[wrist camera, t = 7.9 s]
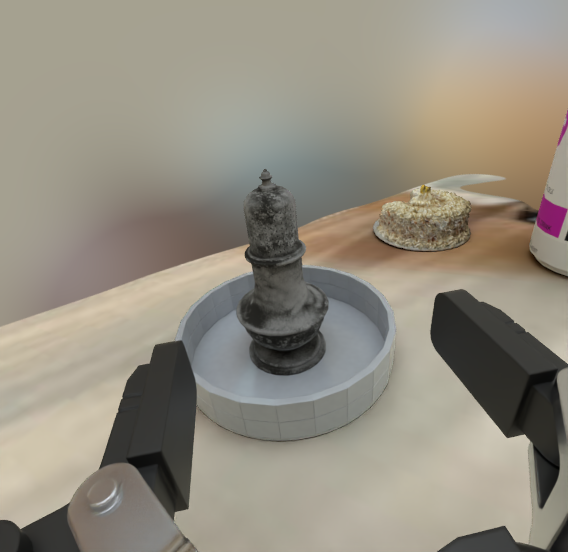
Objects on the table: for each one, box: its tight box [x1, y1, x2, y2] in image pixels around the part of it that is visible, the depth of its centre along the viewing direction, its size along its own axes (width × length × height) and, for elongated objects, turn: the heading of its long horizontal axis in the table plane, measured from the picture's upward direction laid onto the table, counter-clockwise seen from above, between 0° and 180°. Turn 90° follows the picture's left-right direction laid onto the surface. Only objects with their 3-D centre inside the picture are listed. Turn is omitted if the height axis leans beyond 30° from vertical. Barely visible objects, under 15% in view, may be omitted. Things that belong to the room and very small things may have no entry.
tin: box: [175, 265, 396, 441], centre depth 23 cm, size 14×14×3 cm
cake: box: [373, 185, 471, 251], centre depth 36 cm, size 10×10×5 cm
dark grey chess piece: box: [236, 169, 329, 376], centre depth 21 cm, size 6×6×12 cm
